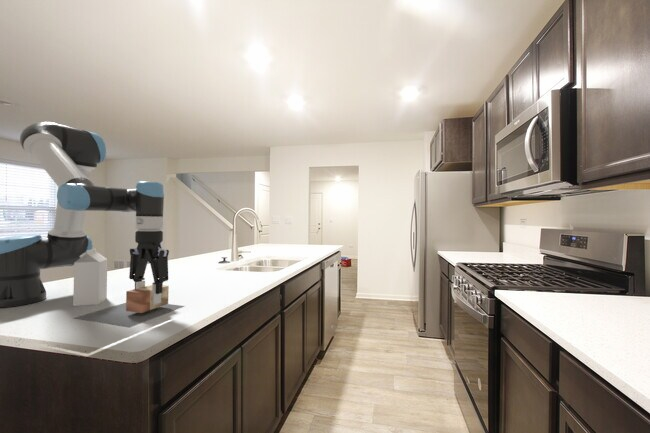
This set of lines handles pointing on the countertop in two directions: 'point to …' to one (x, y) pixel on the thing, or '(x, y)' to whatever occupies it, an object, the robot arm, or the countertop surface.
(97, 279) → the milk carton
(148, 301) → the terracotta wooden block
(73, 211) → the robot arm
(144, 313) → the mat
